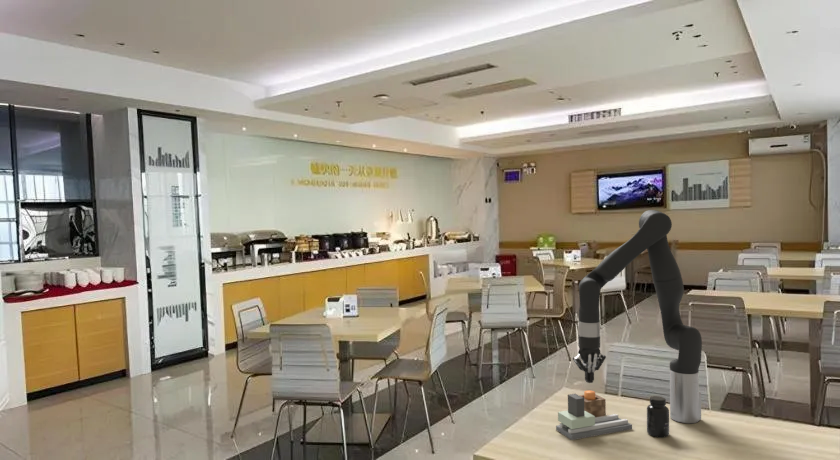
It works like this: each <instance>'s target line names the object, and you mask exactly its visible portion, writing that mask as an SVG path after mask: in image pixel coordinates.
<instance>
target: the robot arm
mask: <svg viewBox="0 0 840 460" xmlns="http://www.w3.org/2000/svg"><path fill="white" fill-rule="evenodd" d="M672 224H673V223H672V220H671V218H670V216H669V215H668V214H667V213H664V212H662V211H659V210H657V209H649V210H645V211H644V212H643V213H642V214H641V215H640V217H639V220H638V228H639V229H638V231H637V232H636V233H635V234H634V235H633V236H632V237H630V239H628V240H627V241H625V243H624V242H623V243H622V245H620V246H618V247H616V248H615V249H614V250H612V251H611V252H610V253H609V254H608V255H607V256H606V257H605V258H604V259H603V260H602V261H601V262H600V263H598V265H597V266H596V267H595V268H594V269H592V271H590V272H589V273H587V275H586V276H584V277H583V279H581V280H580V281H579V283H578V294H579V297H578V298H579V308H578V326H577V327H578V329H577V331H578V333H577V335H578V336H577V340H578V341H577V342H578V344H577V346H578V352H577V355H576V356H573V357H572V361H573V362H574V363H575V365H576V366H577V368H578V369H579V370H580V371H583V372H584V380H585V383H587V384H592V383H594V381H595V371H599V370H600V368H601V367H602V365H603V363H604V362H605V360H606V358H607V356H606V355H604V354H602V353H601V350H600V348H601V325H600V297H601V289H603V287H604V286H605V285H606V284H607V283H609V282H611V281H613V280H614V279H615V278H616V277H617V276H618V275H620V273H621V272H623V270H624V269H625V268H626V267H628V265H630V264H631V263H632V262H633V261H634V260H635V259H637V257H638V256H640V255H642V253H643V252H645V251H646V250H647V255H648V261H649V266H650V271H651V276H652V277H651V278H652V283H653V286H654V289H655V293H656V296H657V301H658V306H659V310H660V316H661V322H662V323H661V324H662V332H663V338H664V341H665V343H666V345H667V346H668V347H669V348H671V349H672V350H673V349H674V350H677V351H678V357H677V359H676V358H675V359H672V360H671V361H670V362H669V418H670V419H672V420H673V421H675V422H678V423H683V424H695V423H698V422H699V421H700V420H702V392H700V387H699V386H700V383H699V382H700V380H699V379H700V376H699V369H700V365H701V362H702V351H703V349H702V347H703V341H702V340H703V338H702V335H701V332H700V331H699V329H697V328H696V327H693V326H690V325H685V324H684V323H683V321H682V317H681V313H680V306H681V301H682V298H683V296H684V292H685V291H684V290H685V289H684V281H683V277H682V274H681V270H680V267H679V265H678V262H677V260H676V259H675V257H674V254H673V252H672V250H671V248H670V245H669V240H668V236H667V235H668V234H669V233H670V232H671V230H672V226H673V225H672Z"/></svg>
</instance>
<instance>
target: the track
mask: <svg viewBox="0 0 840 460" xmlns="http://www.w3.org/2000/svg"><path fill="white" fill-rule="evenodd" d="M632 429H633V423H632V424H631V423H629V420H628V419H627V418H623V419H622V418H620V417H619V414H617V413H613V414H607V415H606V416H600V417H595V425H593V426H588V427H582V428H576V429H571V428H569V427H567V426H566V425H564V424H563V423H561V422H559V424H558V425H555V430H556V432H557V433H558V432H559V433H560V434H561V435H563V436H565V437H566V438H568V439H569V440H570V441H575V440H580V439H585V438H591V437H597V436H601V435H607V434H613V433H618V432H624V431H629V430H632Z"/></svg>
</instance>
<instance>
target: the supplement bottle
mask: <svg viewBox="0 0 840 460" xmlns="http://www.w3.org/2000/svg"><path fill="white" fill-rule="evenodd" d="M666 405H667V399H666V397H663V396H659V395H653V396H652V395H651V396H649V404H648V405H647V407H646V433H647V434H648V435H649V436H652V437H655V438H667V437H669V435H670V408H668V407H667V406H666Z"/></svg>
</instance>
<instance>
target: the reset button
mask: <svg viewBox="0 0 840 460" xmlns="http://www.w3.org/2000/svg"><path fill="white" fill-rule="evenodd" d="M595 394H596V391H594V390H584V391H583V395H584V398H585V399H586V400H595Z"/></svg>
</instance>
